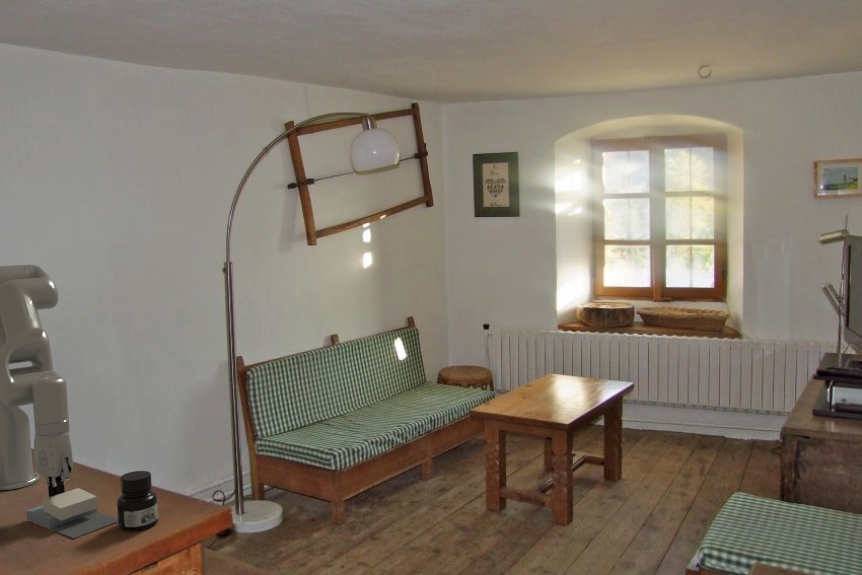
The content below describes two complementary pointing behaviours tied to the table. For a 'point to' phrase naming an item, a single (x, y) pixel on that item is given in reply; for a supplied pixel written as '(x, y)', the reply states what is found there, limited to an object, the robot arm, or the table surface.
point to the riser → (51, 517)
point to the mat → (85, 525)
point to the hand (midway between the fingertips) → (57, 500)
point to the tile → (69, 504)
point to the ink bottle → (137, 502)
